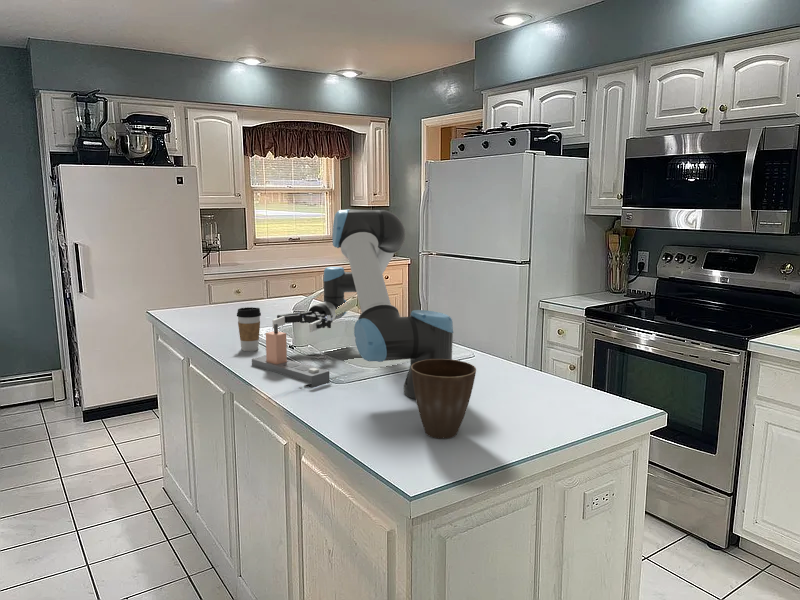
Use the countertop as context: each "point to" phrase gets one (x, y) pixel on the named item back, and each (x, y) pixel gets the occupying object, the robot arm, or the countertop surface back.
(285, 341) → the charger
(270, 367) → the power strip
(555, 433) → the countertop surface
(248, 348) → the coffee cup
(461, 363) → the plant pot
